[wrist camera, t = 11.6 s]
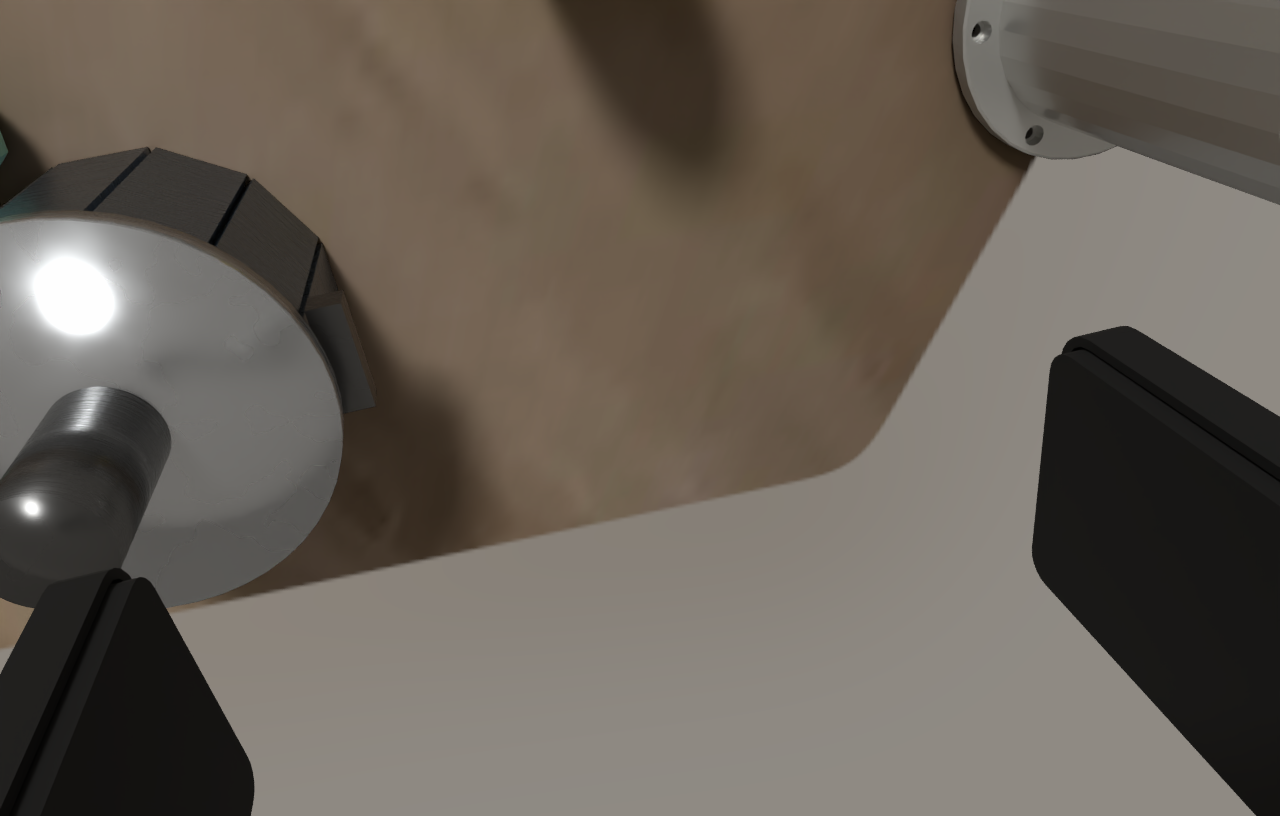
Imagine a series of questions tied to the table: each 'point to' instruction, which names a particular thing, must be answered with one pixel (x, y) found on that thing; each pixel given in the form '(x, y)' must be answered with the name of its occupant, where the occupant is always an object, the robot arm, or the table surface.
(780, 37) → the table surface
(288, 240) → the pot
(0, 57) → the table surface
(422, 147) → the table surface
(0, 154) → the mint green octagonal rod
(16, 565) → the lid
